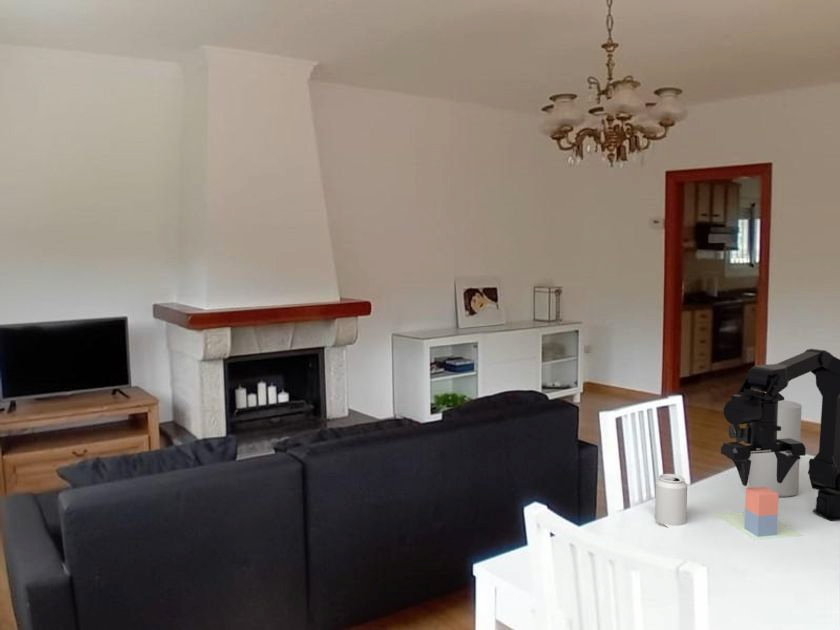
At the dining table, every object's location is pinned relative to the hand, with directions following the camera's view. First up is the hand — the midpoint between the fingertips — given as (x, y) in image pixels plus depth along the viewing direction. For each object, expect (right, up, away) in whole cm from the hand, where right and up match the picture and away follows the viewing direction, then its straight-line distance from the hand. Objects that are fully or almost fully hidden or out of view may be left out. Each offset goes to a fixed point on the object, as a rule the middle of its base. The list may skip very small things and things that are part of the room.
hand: (761, 484), depth 166 cm
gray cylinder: (+19, -10, +32) cm, 38 cm away
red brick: (0, -6, 0) cm, 6 cm away
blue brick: (0, -11, 0) cm, 11 cm away
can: (-19, -12, +8) cm, 24 cm away
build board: (+1, -12, +4) cm, 13 cm away
